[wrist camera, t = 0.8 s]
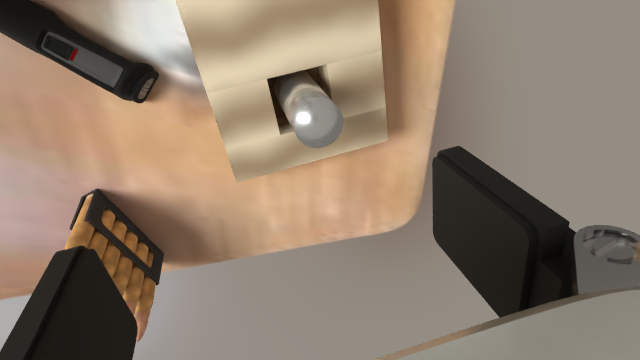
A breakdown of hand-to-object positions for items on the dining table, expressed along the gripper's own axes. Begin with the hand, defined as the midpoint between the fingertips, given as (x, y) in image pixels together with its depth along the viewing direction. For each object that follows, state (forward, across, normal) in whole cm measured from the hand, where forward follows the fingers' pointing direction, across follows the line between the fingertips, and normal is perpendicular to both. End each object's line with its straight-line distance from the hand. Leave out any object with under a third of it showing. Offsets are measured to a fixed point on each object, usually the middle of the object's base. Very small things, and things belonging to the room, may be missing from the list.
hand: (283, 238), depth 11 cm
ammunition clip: (+30, +16, +15) cm, 37 cm away
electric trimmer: (+29, +13, -4) cm, 32 cm away
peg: (+29, -5, +4) cm, 30 cm away
